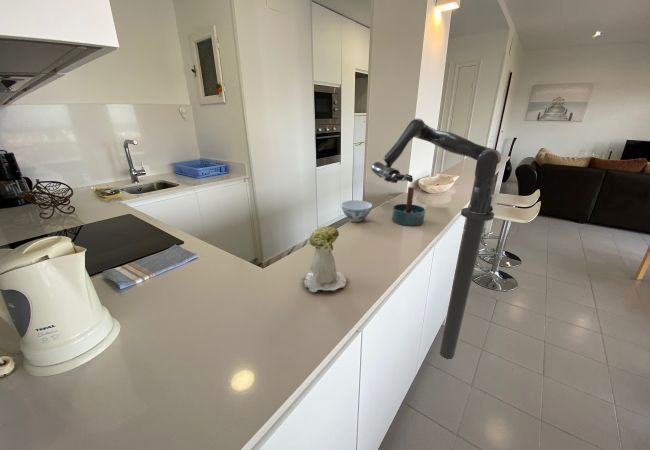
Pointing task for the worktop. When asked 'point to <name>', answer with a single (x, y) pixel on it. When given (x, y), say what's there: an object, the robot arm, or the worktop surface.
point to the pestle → (409, 200)
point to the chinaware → (356, 209)
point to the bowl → (408, 215)
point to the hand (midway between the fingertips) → (404, 180)
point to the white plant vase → (324, 262)
